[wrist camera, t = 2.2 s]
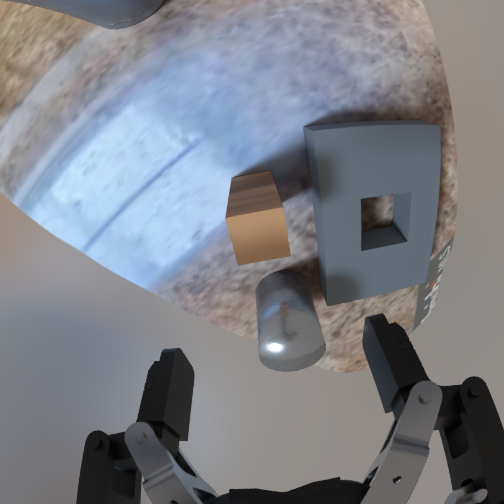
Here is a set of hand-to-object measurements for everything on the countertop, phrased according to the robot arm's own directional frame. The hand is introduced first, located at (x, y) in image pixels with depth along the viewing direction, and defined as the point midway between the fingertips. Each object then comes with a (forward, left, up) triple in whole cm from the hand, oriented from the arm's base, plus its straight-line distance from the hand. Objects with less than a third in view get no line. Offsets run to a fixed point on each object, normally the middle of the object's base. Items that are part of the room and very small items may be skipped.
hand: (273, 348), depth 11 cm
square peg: (0, 0, -20) cm, 20 cm away
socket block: (+4, +13, -20) cm, 24 cm away
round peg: (+14, +1, -20) cm, 24 cm away
